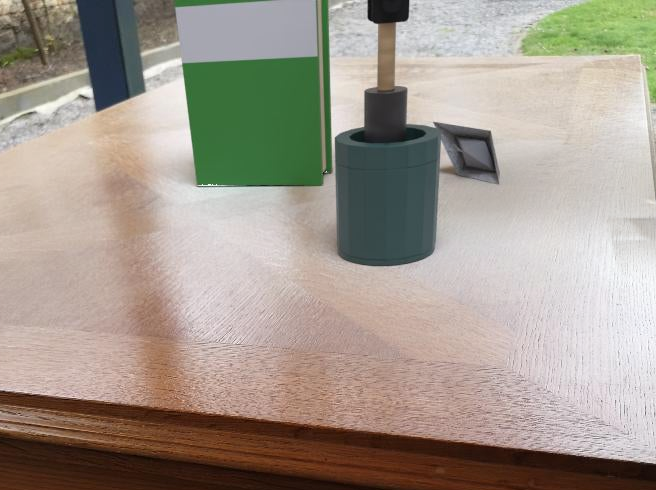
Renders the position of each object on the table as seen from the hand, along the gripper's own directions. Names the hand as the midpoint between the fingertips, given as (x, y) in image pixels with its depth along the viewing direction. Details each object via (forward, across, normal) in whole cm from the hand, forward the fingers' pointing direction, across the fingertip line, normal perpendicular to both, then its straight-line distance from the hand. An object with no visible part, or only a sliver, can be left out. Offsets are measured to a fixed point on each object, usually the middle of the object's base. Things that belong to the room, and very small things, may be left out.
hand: (387, 19), depth 69 cm
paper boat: (+21, +26, -15) cm, 36 cm away
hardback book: (+21, +34, +11) cm, 41 cm away
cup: (+20, 0, 0) cm, 20 cm away
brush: (+11, 0, 0) cm, 11 cm away
